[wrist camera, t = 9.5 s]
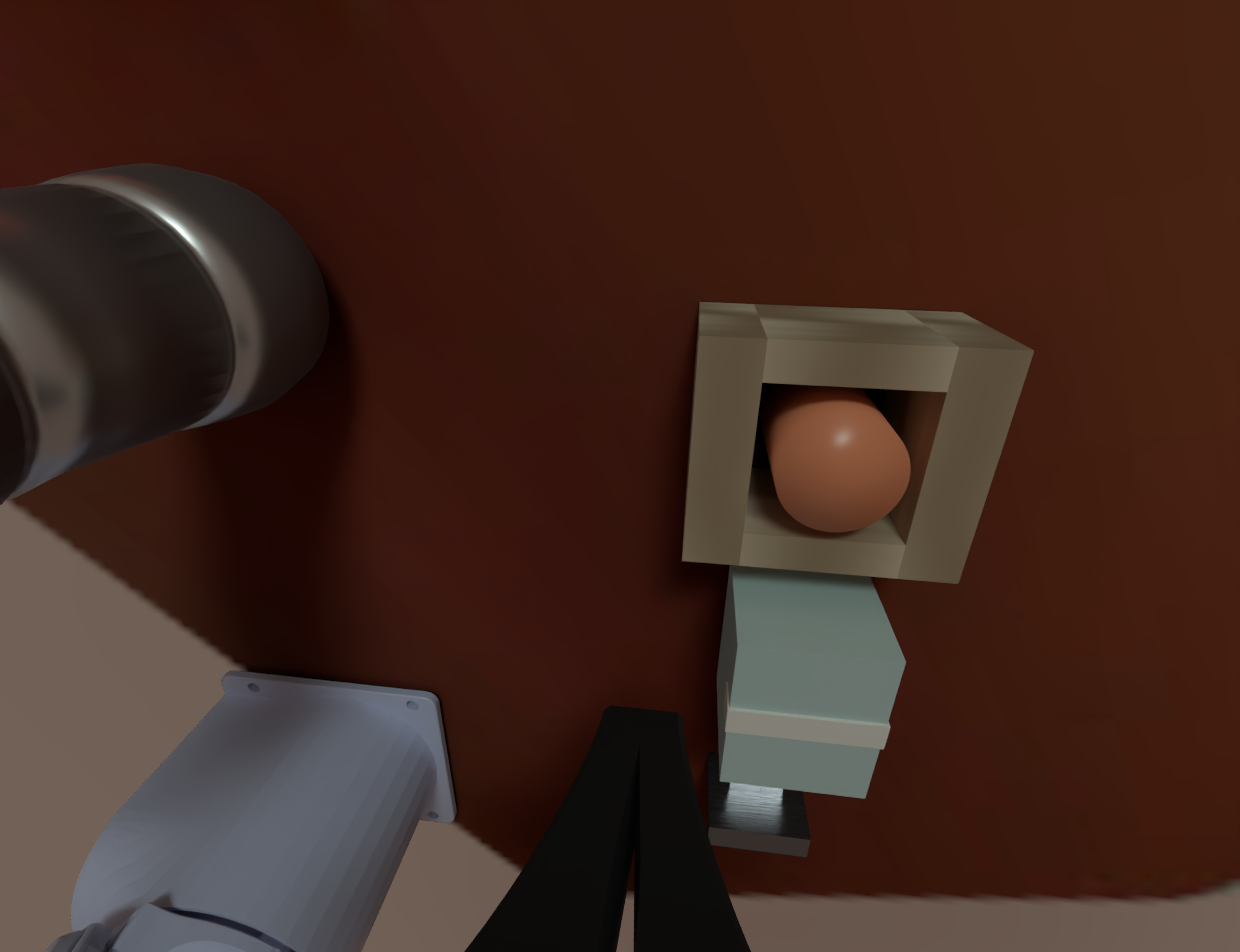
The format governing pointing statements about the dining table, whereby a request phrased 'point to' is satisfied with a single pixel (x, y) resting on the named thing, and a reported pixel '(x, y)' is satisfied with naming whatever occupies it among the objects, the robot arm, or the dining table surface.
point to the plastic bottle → (143, 313)
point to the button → (832, 456)
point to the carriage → (804, 680)
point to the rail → (755, 816)
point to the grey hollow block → (913, 406)
